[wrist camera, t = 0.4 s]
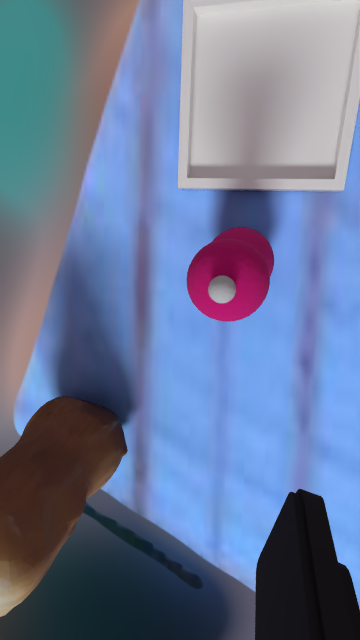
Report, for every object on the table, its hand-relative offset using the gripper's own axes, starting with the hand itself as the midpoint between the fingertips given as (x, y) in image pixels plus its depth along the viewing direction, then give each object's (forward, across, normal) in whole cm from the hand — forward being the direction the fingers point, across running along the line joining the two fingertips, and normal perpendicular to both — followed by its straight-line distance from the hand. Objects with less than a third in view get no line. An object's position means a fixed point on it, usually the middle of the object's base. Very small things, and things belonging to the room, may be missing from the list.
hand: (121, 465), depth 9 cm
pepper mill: (+33, -1, -3) cm, 33 cm away
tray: (+32, +1, -19) cm, 37 cm away
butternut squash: (+33, +14, +27) cm, 44 cm away
